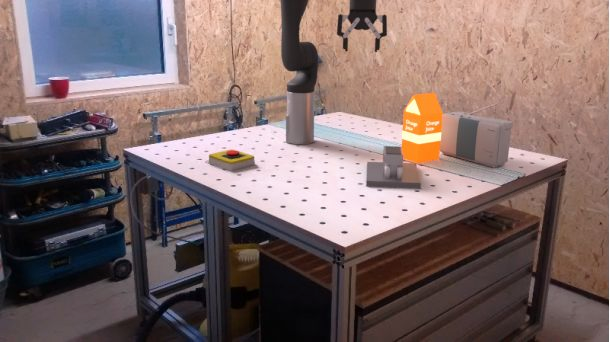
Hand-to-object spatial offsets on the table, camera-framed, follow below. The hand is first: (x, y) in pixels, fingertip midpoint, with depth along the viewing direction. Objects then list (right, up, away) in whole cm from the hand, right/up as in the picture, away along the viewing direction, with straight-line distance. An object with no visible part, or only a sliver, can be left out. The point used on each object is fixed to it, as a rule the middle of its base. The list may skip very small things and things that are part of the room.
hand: (361, 51), depth 161 cm
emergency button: (-38, -33, +3) cm, 51 cm away
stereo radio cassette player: (+35, -31, +9) cm, 48 cm away
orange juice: (+19, -31, +9) cm, 38 cm away
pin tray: (+8, -36, -9) cm, 38 cm away
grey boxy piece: (+8, -35, -9) cm, 37 cm away
